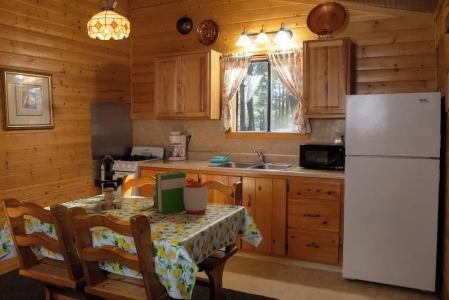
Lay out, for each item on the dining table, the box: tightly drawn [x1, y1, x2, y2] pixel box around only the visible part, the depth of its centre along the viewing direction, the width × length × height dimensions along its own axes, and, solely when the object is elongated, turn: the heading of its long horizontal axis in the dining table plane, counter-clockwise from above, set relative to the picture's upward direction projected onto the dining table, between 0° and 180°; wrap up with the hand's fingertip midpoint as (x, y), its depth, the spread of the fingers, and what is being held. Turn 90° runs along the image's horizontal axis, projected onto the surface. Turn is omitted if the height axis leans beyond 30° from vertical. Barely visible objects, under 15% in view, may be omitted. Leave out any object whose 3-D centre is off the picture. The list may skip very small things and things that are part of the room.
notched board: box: [95, 200, 123, 212], centre depth 259 cm, size 16×16×2 cm
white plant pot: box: [183, 180, 210, 215], centre depth 241 cm, size 16×17×20 cm
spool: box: [102, 188, 115, 210], centre depth 255 cm, size 6×6×13 cm
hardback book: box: [155, 171, 187, 215], centre depth 244 cm, size 18×7×24 cm, turn 128°
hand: (109, 191), depth 261 cm, fingers open, 9 cm apart
